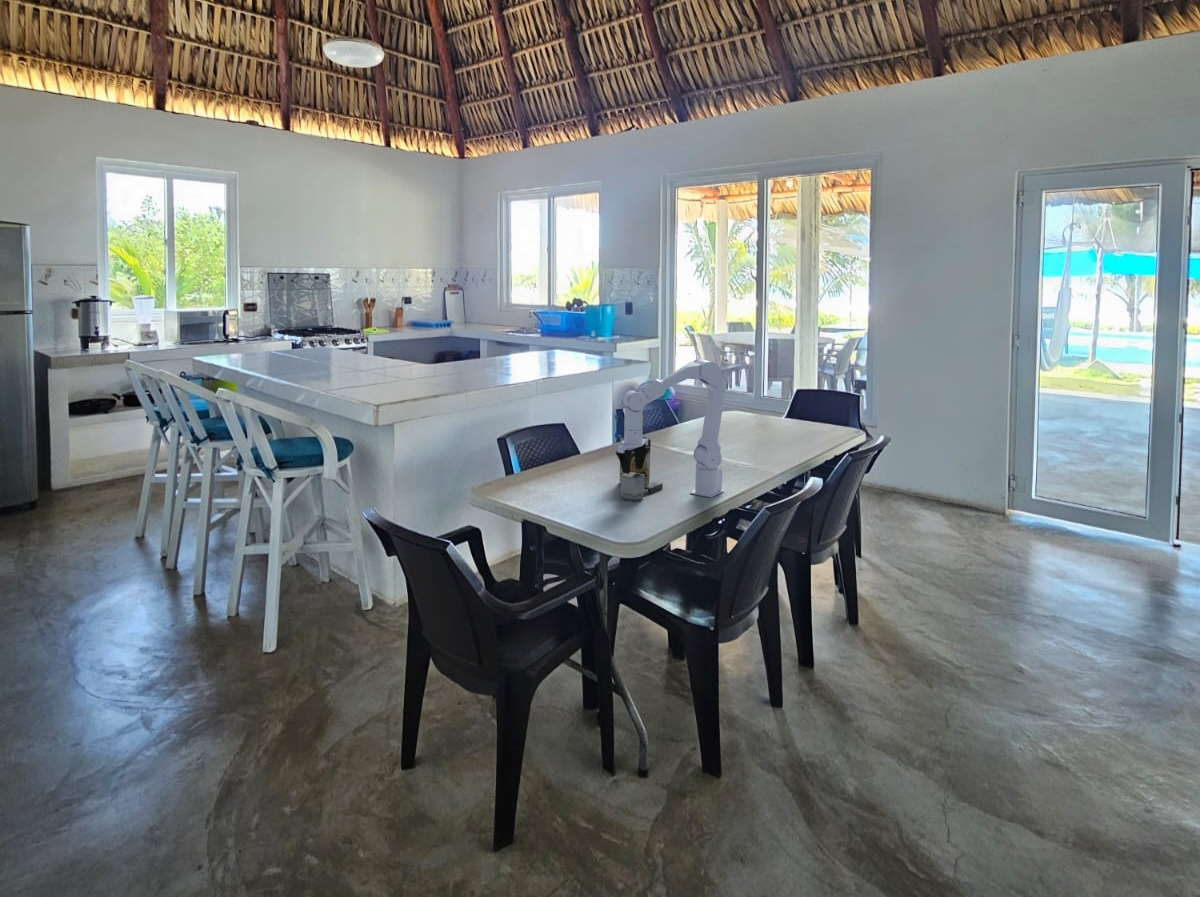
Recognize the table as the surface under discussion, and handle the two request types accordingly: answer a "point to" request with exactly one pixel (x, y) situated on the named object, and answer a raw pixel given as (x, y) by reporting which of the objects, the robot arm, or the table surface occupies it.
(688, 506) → the table surface
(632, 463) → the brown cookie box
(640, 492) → the grey brushed cube
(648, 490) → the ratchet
